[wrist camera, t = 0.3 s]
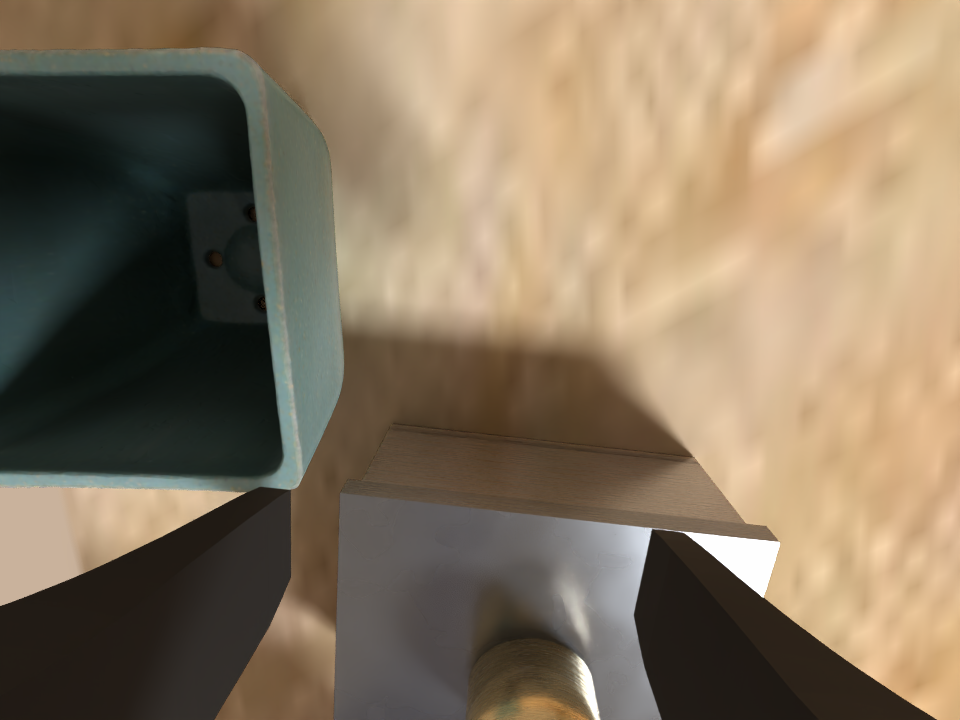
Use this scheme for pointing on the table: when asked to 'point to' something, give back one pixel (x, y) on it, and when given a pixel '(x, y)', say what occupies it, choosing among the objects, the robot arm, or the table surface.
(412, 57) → the table surface
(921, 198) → the table surface
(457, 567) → the lid
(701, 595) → the robot arm
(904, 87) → the table surface
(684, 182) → the table surface
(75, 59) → the flower pot
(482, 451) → the tin
